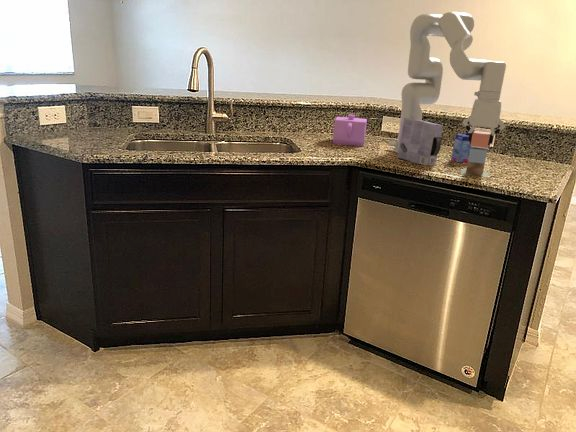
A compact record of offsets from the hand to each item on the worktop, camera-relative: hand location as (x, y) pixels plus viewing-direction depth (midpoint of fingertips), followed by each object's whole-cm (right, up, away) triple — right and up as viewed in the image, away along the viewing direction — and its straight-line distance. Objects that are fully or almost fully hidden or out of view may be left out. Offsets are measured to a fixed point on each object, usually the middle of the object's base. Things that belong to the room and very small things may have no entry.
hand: (479, 143), depth 180 cm
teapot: (-43, +9, +58) cm, 73 cm away
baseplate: (0, -12, +5) cm, 12 cm away
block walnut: (-1, -11, +4) cm, 12 cm away
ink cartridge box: (+3, -4, +26) cm, 27 cm away
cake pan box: (-18, -5, +22) cm, 29 cm away
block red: (0, -1, 0) cm, 1 cm away
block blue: (0, -6, +2) cm, 7 cm away
